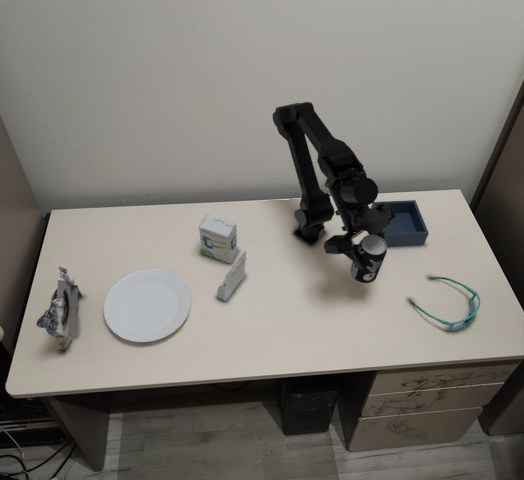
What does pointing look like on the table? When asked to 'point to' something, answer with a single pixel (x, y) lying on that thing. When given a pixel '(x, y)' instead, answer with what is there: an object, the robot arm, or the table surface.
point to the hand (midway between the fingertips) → (373, 261)
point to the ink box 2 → (232, 278)
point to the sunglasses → (466, 320)
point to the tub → (404, 224)
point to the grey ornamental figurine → (62, 311)
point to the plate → (147, 305)
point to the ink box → (218, 238)
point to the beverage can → (369, 258)
